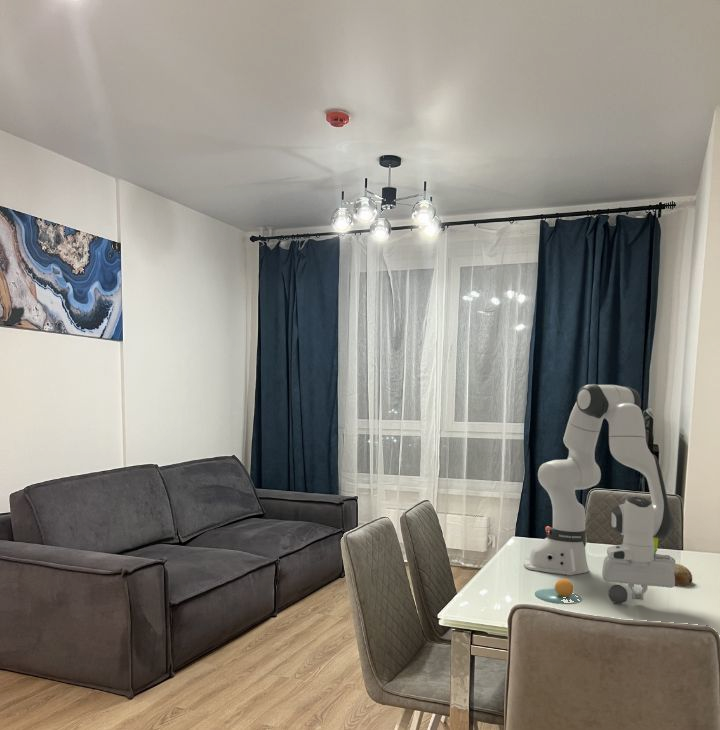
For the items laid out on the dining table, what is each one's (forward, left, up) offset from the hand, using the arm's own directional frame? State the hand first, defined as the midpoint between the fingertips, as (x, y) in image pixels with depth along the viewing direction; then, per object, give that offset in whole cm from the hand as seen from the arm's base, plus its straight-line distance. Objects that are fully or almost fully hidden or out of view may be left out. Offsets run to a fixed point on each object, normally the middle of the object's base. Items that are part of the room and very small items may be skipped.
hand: (637, 598), depth 201 cm
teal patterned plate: (-23, 0, -2) cm, 23 cm away
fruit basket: (+11, +54, -2) cm, 55 cm away
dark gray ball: (-6, -1, +1) cm, 6 cm away
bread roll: (+17, +30, -2) cm, 34 cm away
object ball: (-21, 0, +1) cm, 21 cm away
